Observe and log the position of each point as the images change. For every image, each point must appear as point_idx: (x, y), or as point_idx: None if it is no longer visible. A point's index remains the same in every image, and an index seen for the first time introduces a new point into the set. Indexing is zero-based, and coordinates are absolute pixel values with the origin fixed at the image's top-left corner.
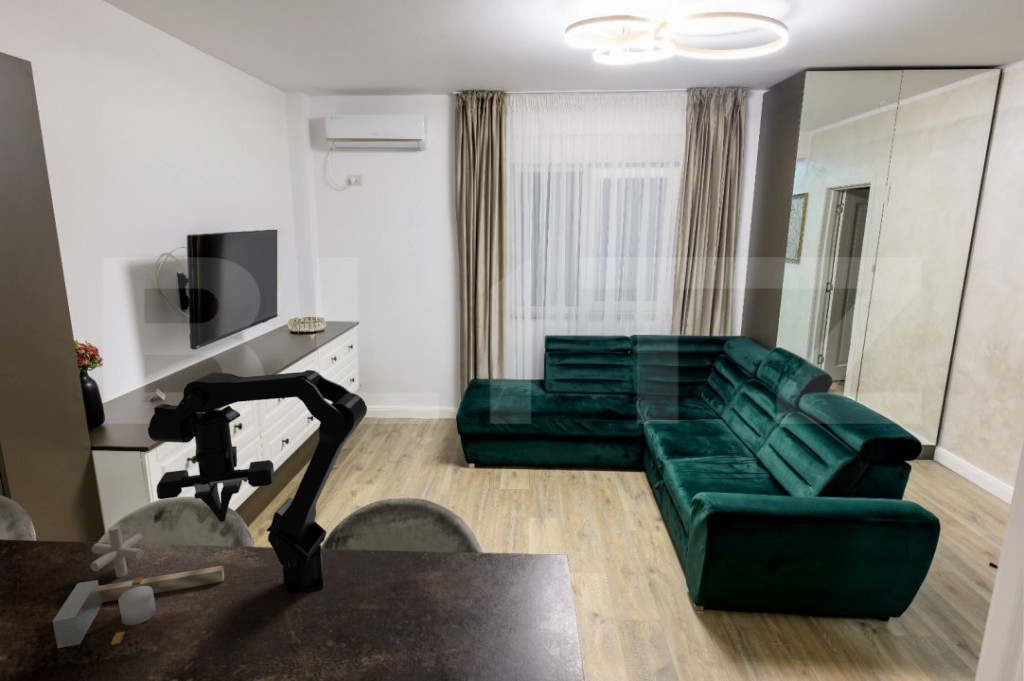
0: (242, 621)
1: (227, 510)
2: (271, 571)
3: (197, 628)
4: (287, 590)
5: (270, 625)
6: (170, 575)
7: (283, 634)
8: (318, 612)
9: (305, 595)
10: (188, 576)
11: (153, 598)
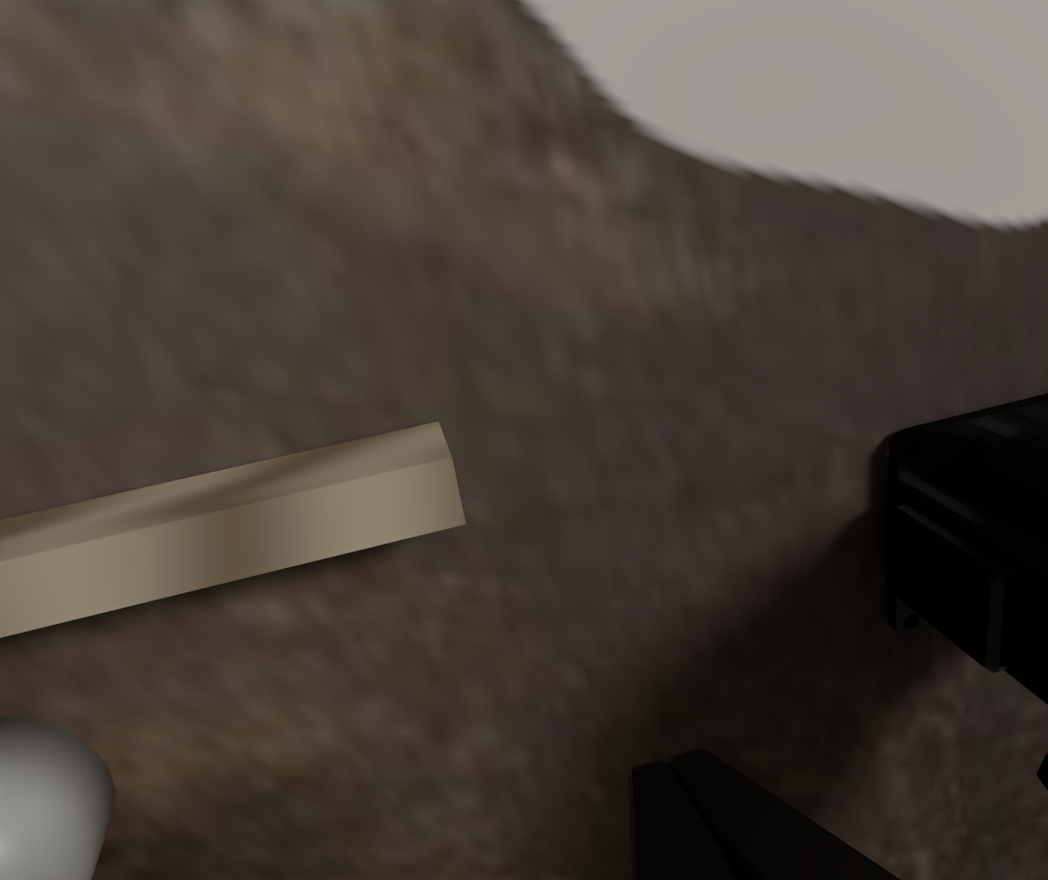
0: None
1: (813, 825)
2: (769, 381)
3: (462, 871)
4: (901, 622)
5: None
6: (17, 578)
7: None
8: (1029, 743)
9: None
10: (203, 586)
11: (77, 851)
